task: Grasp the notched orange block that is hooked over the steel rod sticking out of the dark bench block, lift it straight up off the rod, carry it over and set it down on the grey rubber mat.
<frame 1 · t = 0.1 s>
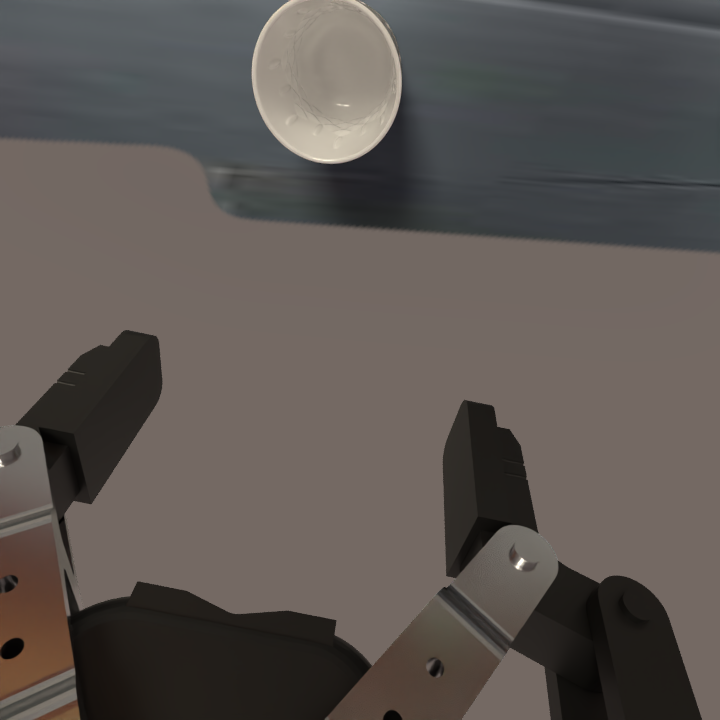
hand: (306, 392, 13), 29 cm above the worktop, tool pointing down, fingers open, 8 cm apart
white cup: (350, 62, 34), on the worktop
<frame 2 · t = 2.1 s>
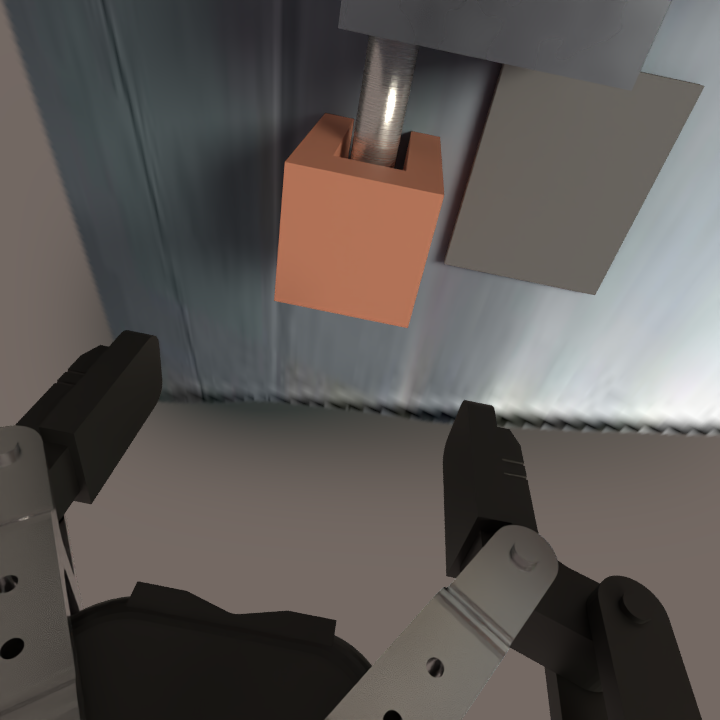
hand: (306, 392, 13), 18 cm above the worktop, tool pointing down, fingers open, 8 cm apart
mat: (555, 182, 26), on the worktop
notched orange block: (372, 183, 28), on the worktop
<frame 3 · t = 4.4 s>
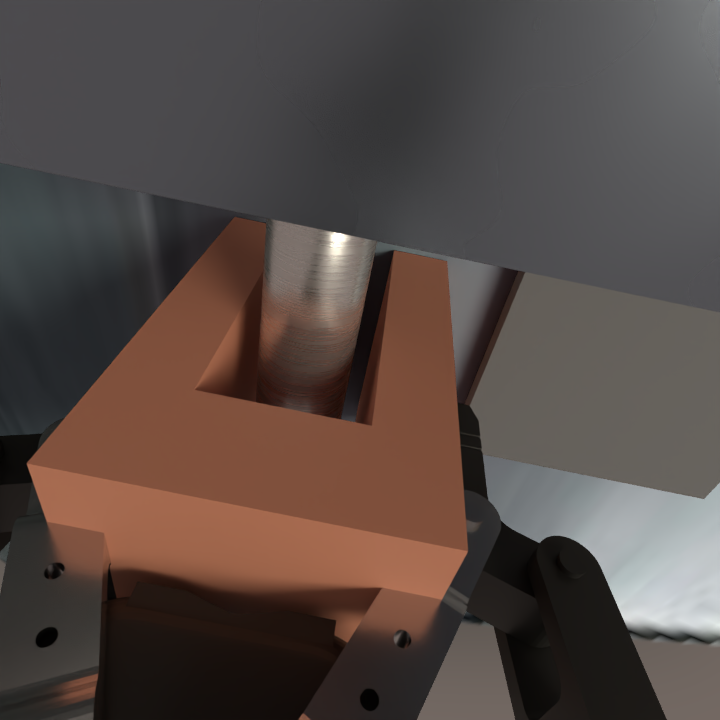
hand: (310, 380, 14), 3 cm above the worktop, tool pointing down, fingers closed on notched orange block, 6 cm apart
mat: (655, 336, 15), on the worktop
notched orange block: (327, 327, 16), on the worktop, touching gripper
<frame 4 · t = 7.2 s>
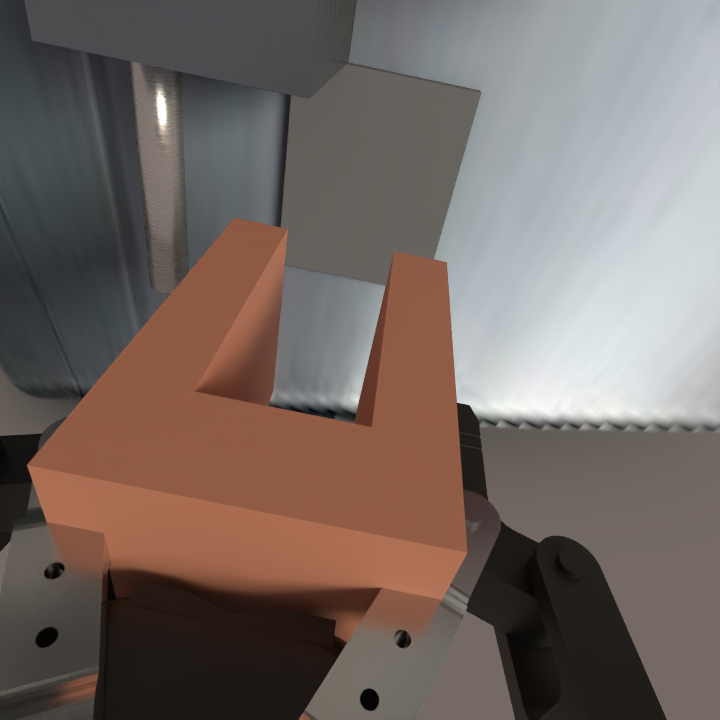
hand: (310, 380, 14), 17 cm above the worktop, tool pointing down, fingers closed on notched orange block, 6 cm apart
mat: (368, 184, 27), on the worktop
notched orange block: (326, 328, 16), point 15 cm above the worktop, touching gripper
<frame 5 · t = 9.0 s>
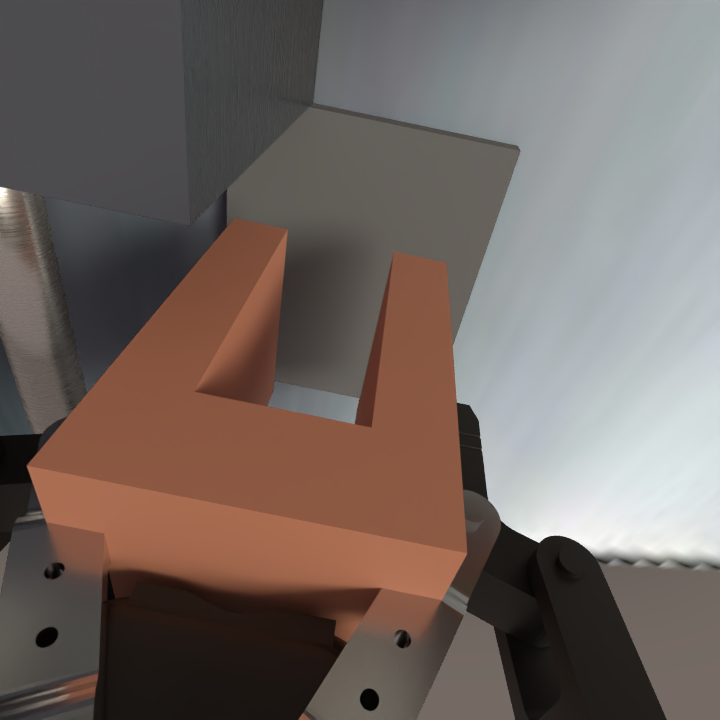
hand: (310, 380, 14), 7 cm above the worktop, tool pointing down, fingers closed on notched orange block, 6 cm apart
mat: (349, 273, 19), on the worktop
notched orange block: (326, 328, 16), point 4 cm above the worktop, touching gripper
when the fingers open (5 cm above the worktop, at t = 10.4 s): notched orange block drops 1 cm, resting on mat.
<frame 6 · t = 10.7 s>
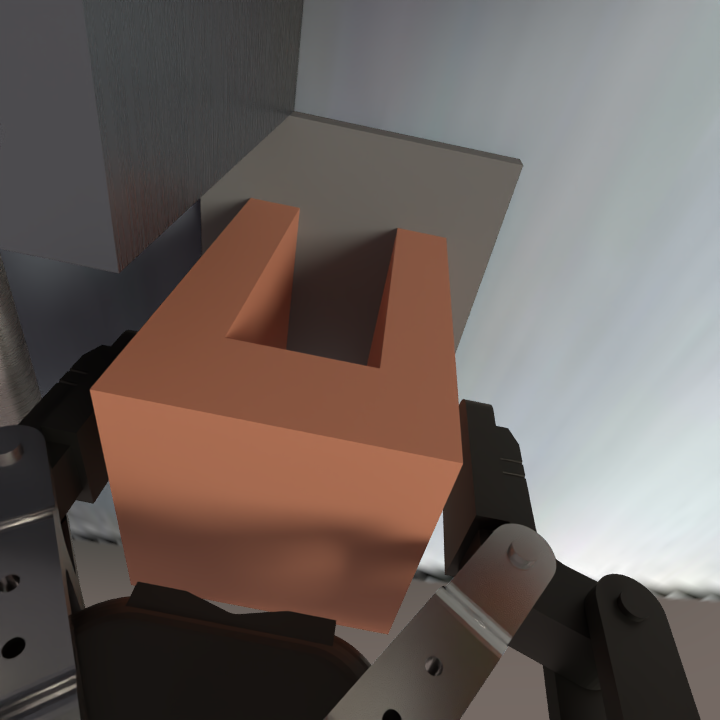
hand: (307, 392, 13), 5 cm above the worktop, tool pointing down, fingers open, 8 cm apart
mat: (336, 294, 17), on the worktop
notched orange block: (335, 302, 17), point 1 cm above the worktop, touching mat
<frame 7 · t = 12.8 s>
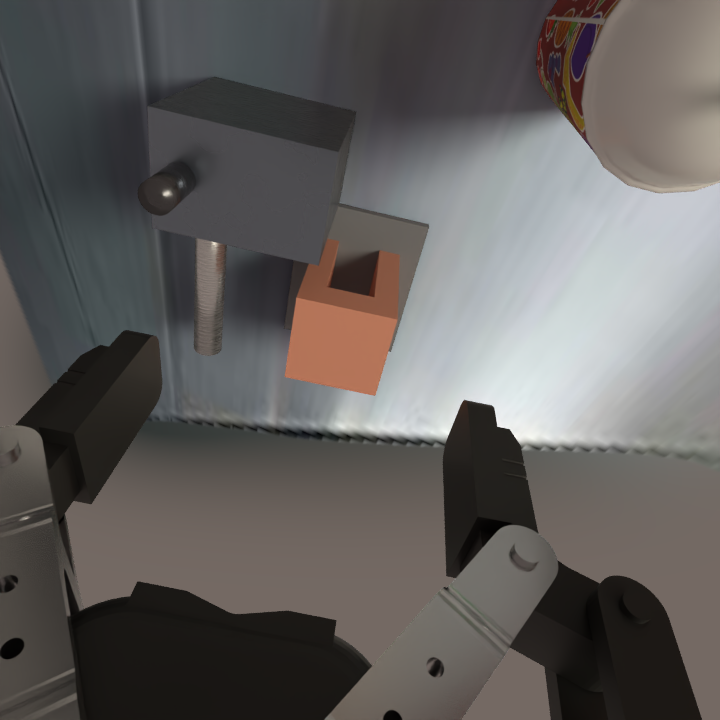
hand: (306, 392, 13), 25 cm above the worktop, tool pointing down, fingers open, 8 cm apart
mat: (351, 278, 39), on the worktop
notched orange block: (351, 281, 38), point 1 cm above the worktop, touching mat
smoothie: (592, 42, 29), on the worktop
vise block: (280, 144, 33), on the worktop
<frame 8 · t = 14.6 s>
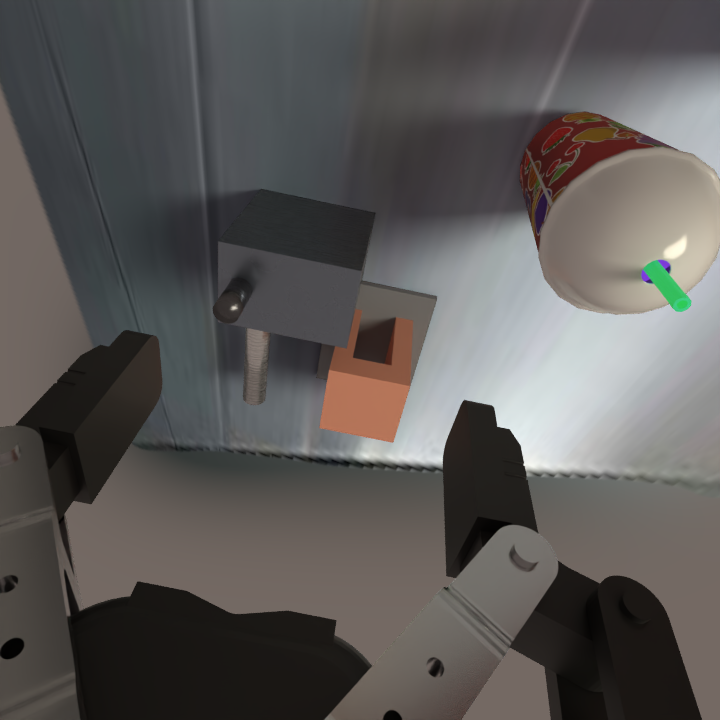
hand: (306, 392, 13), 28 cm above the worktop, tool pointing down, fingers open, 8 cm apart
mat: (372, 337, 46), on the worktop
notched orange block: (372, 341, 45), point 1 cm above the worktop, touching mat
smoothie: (566, 160, 35), on the worktop
vise block: (313, 237, 41), on the worktop
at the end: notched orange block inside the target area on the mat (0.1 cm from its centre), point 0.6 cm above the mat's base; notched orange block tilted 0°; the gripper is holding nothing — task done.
